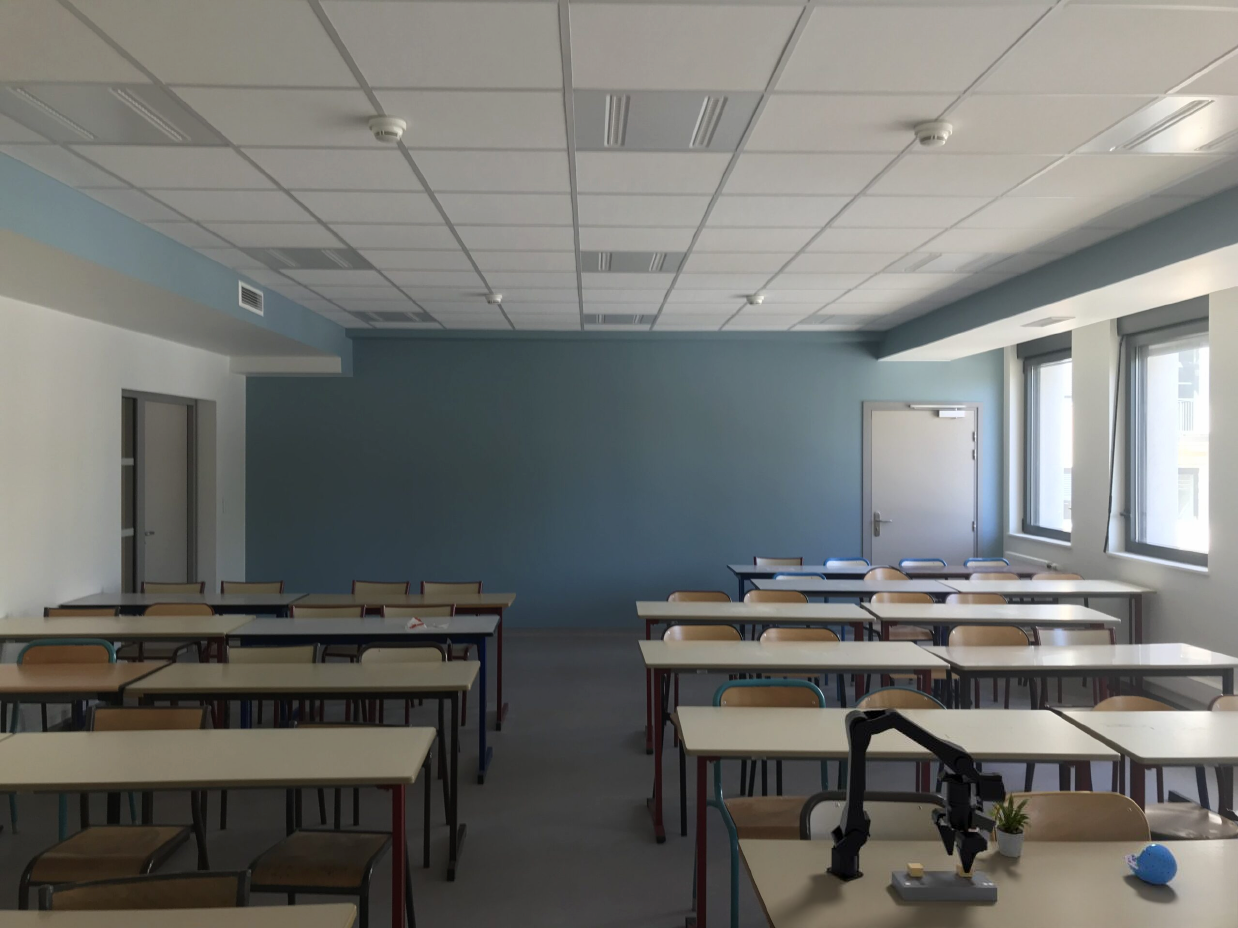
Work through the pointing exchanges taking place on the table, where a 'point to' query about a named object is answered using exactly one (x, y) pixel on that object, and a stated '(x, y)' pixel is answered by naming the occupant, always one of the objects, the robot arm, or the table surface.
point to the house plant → (1010, 827)
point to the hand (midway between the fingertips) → (958, 863)
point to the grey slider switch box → (944, 886)
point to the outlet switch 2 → (961, 872)
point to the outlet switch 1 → (915, 869)
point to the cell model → (1153, 864)
